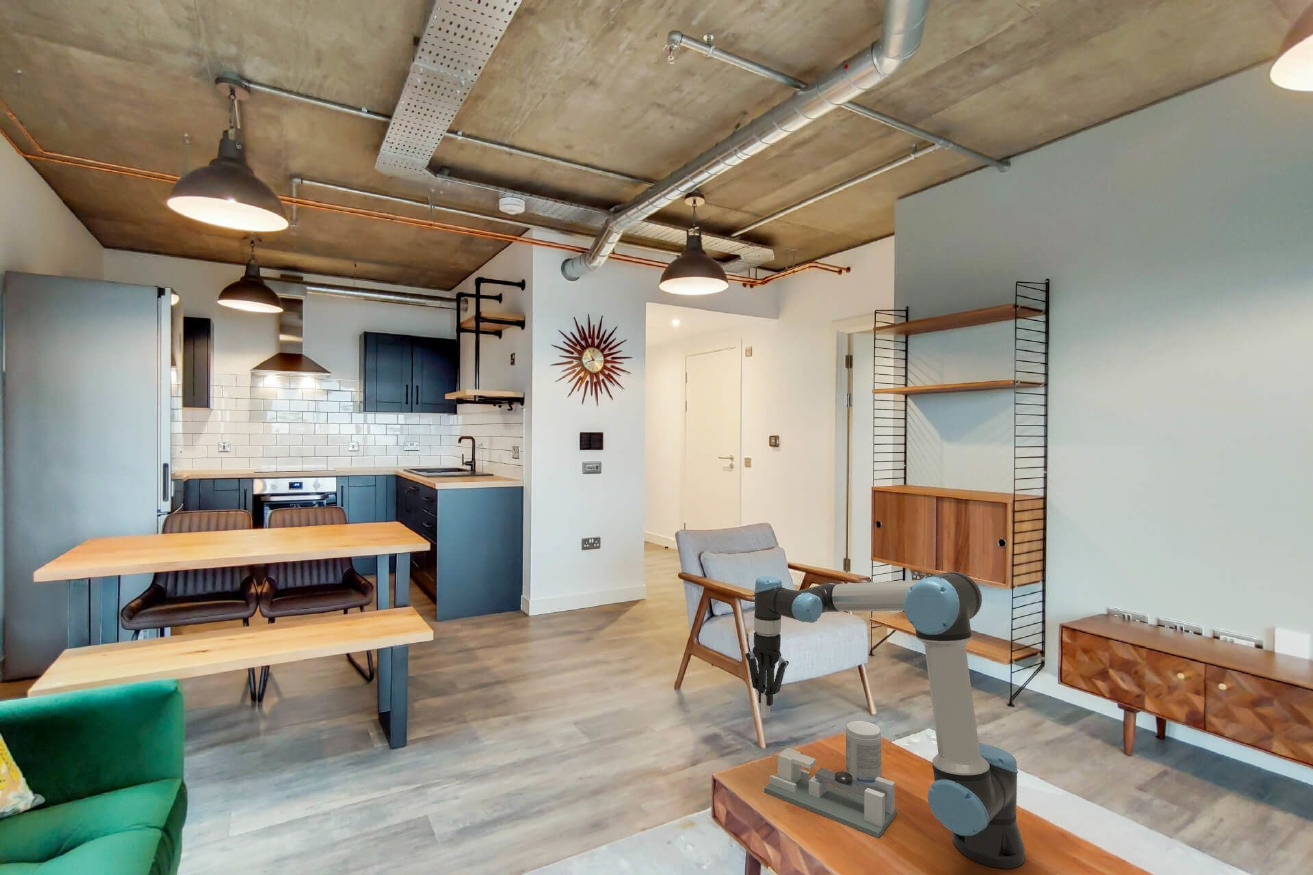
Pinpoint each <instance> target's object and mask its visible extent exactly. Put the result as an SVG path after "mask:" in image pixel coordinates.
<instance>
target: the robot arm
mask: <svg viewBox="0 0 1313 875" xmlns="http://www.w3.org/2000/svg"><path fill="white" fill-rule="evenodd" d="M753 594H754V615H753V616H754V617H753V619H754V620H753V631H754V632H753V648H752V650H749V651H747V652H746V653H745V654H744V656H745V658H746V660H747V662H748V670H749V674H750V680H751V685H752V688H753V689H754V690H755V689H756V691H758V704H760V718H764V719H766V718H768V717H769V716H771V706H772V705H773V704H774V695H776V694H778V693H779V692H780V691H781V687H782V683H783V679H784V677H785V672H786V669H787V667H788V666H789V664H790V662H789V660H785V659H784V657H782V653H781V644H782V643H781V642H782V641H781V639H782V638H781V636H782V635H781V634H780V633H781V632H782V630H781V629H782V617H785V618H789V619H793V620H797V621H799V622H801V623H809V624H810V623H812V624H813V623H816V622H817V621H818V619H820V617H821V616H822V614H824V613H838V612H839V613H840V612H904V615H905V617H906V619H907V621H908V623H909V624H911V625H912V627H913V628H914V629H915V635H916V636H915V637H916V639H917V640H918V641H919V642H920V643H922V644H923V646H924V652H925V661H926V668H927V676H928V683H929V690H930V699H931V708H932V714H933V722H934V724H933V725H934V730H935V737H936V746H937V754H935V756H934V757H933V758H932V761H931V764H932V770H933V771H932V772H933V779H934V781H933V782H932V783H931V784H930V785H929V789H928V791H927V802H928V805H929V808H930V810H931V812H932V814H933V815H934V817H935V818H936V820H938V821H939V822H940V823H941V825H943V827H944V828H946V829H947V830H949V831H951V832H952V833H951V836H952V837H951V840H952V843H953V846H954V847H955V848H956V849H957V850H958V851H959V852H960V853H961V854H962V855H964V856H966V857H967V858H968V859H970V860H972V861H974V862H976V863H979V864H981V865H985V866H988V867H991V868H996V869H998V868H999V869H1014V868H1018V867H1020V866H1021V865H1023V864H1024V862H1025V858H1026V857H1025V852H1026V851H1025V850H1026V849H1025V843H1024V840H1023V838H1022V835H1021V831H1020V829H1019V826H1018V822H1017V807H1018V806H1017V805H1018V804H1017V802H1018V800H1017V798H1018V797H1017V795H1018V773H1019V770H1018V763H1017V760H1016V759H1017V758H1015V757H1014V755H1013V754H1011V753H1009V752H1008V751H1006V750H1005V749H1003V748H1000V747H997V746H995V745H990V744H986V743H981V742H979V736H978V728H977V721H976V713H975V712H976V711H975V706H974V700H973V691H972V684H971V676H970V670H969V662H968V661H969V660H968V654H967V653H968V652H967V647H966V646H967V644H968V642H969V641H971V639H972V638H973V636H972V628H971V627H972V626H971V622H970V621H971V619H973V618H975V616H977V614H978V613H979V611H981V610H980V609H981V607H982V603H983V598H982V597H983V595H982V592H981V589H980V588H979V585H978V584H977V583H976V582H975V580H974V579H972V577H970V576H968V575H966V574H965V573H962V572H958V571H948V572H947V571H946V572H943V573H941V574H940V573H939V574H932V575H929V574H928V575H925V576H924V577H923V578H922V579H915V580H911V579H910V580H897V581H896V580H895V581H893V580H891V581H876V582H875V581H873V582H855V583H853V582H852V583H837V584H836V583H833V582H826V583H822V584H821V583H820V584H819V585H816V586H812V587H808V588H803V589H799V590H797V589H796V590H794V589H789V588H785V587H783V581H782V579H781V578H779V577H775V576H760V577H757V578H756V580H755V586H754V593H753ZM777 663H778V664H777ZM776 664H777V666H778V667H777V670H776V673H775V668H776Z"/></svg>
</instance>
